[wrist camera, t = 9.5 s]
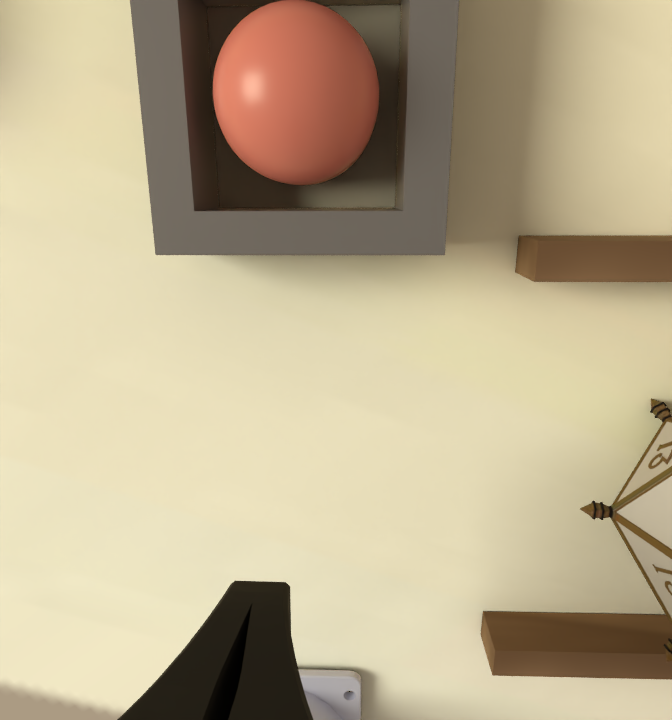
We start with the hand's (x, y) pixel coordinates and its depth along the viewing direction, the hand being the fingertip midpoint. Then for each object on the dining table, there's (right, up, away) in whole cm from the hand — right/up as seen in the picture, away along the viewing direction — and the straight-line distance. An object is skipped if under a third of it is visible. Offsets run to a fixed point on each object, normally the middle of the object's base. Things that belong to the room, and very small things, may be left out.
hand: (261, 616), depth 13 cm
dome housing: (+1, +14, +4) cm, 14 cm away
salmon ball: (+1, +14, +4) cm, 14 cm away
